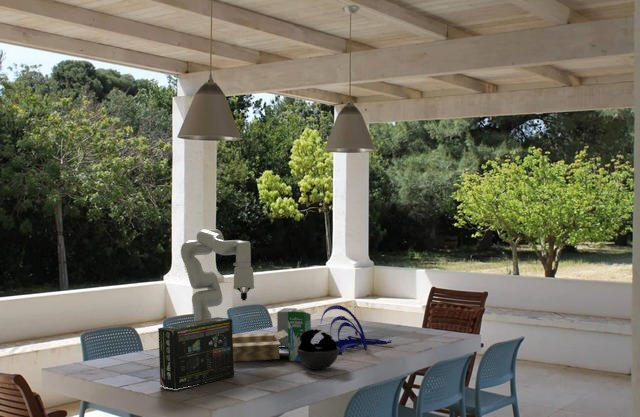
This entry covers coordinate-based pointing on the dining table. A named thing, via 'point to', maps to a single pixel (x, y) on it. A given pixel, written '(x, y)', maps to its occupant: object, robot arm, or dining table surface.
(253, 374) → the dining table surface
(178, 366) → the router box
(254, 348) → the carton
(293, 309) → the hard drive box
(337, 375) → the dining table surface
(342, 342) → the sculpture
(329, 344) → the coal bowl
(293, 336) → the milk carton
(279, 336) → the right flap
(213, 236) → the robot arm
